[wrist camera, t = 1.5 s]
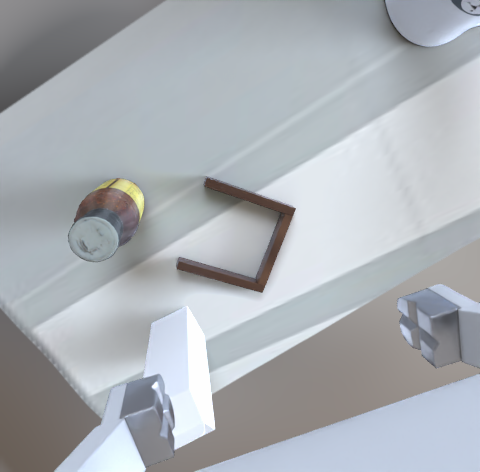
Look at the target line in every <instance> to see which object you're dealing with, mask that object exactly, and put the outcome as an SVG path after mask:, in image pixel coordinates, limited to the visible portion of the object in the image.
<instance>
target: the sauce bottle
mask: <svg viewBox="0 0 480 472" xmlns="http://www.w3.org/2000/svg"><path fill="white" fill-rule="evenodd" d="M143 209H144V197H143V194H142V192H141V191H140V189H139V188H138V186H137V185H136V184H135V183H132V182H130V181H128V180H125V179H120V178H117V179H112V180H109V181H106V182H104V183H103V184H102V185H100V186H99V187H98V188H96V189H95V190H94V191H92V192H91V193H90V194H89V195H87V197H86V198H85V199H84V200H83V201H82V202H81V204H80V205H79V208H78V210H77V213H76V217H75V219H74V222H75V223H74V224H73V225H72V227H71V229H70V231H69V234H68V242H69V244H70V248H71V250H72V251H73V252H74V253H75V254H76V255H77V256H79V257H80V258H81V259H84V260H86V261H91V262H100V261H104V260H106V259H108V258H109V257H111V256H112V255H113V254H114V253H115V252H116V250H117V248H118V247H119V246H122V245H124V244H125V243H127V242H128V241H129V240H130V239H131V238H132V237H133V236H134V234H135V233H136V231H137V228H138V226H139V222H140V219H141V216H142V213H143Z"/></svg>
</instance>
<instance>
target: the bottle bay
mask: <svg viewBox="0 0 480 472" xmlns="http://www.w3.org/2000/svg"><path fill="white" fill-rule="evenodd" d="M203 185H204V186H205V187H208V188H211V189H214V190H217V191H220V192H223V193H225V194H228V195H231V196H234V197H237V198H240V199H243V200H246V201H249V202H252V203H255V204H258V205H261V206H264V207H267V208H270V209H273V210H275V211H278V212H281V214H280V217H279V219H278V222H277V224H276V227H275V230H274V232H273V235H272V237H271V240H270V242H269V245H268V248H267V250H266V253H265V255H264V258H263V260H262V263H261V266H260V268H259V271H258V273H257V276H256V279H254V278H251V277H247V276H244V275H241V274H237V273H234V272H230V271H227V270H223V269H220V268H216V267H213V266H209V265H206V264H202V263H199V262H195V261H192V260H188V259H185V258H181V257H179V258H178V261H177V265H176V269H179V270H182V271H186V272H190V273H193V274H197V275H200V276H204V277H207V278H211V279H215V280H218V281H222V282H225V283H229V284H233V285H236V286H240V287H243V288H247V289H251V290H254V291H258V292H261V293H262V292H263V290H264V288H265V285H266V283H267V280H268V278H269V275H270V272H271V270H272V267H273V265H274V262H275V260H276V257H277V255H278V252H279V250H280V247H281V245H282V242H283V240H284V237H285V235H286V232H287V230H288V227H289V225H290V222H291V220H292V217H293V215H294V212H295V210H296V208H294V207H293V206H291V205H288V204H285V203H282V202H279V201H276V200H273V199H270V198H268V197H265V196H262V195H259V194H256V193H253V192H250V191H247V190H245V189H242V188H239V187H236V186H233V185H230V184H227V183H224V182H222V181H219V180H216V179H213V178H210V177H207V176H206V178H205V181H204V184H203Z"/></svg>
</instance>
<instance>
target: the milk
mask: <svg viewBox="0 0 480 472" xmlns="http://www.w3.org/2000/svg"><path fill="white" fill-rule="evenodd" d="M156 374H160V375H161V376H162V379H163V381H164V383H165V391H164V393H165V394H167V395H169V397H170V400H171V402H172V406H173V410H174V417H175V427H174V429H173V430H172V433H173V436H174V438H175V443H174V450H176V449H177V448H180V447H182V446H184V445H185V444H187V443H189V442H191V441H193V440H195V439H197V438H199V437H201V436H203V435H205V434H207V433H209V432H211V431H213V430H215V423H214V414H213V406H212V397H211V388H210V380H209V371H208V362H207V354H206V345H205V337H204V334H203V332H202V331H201V329H200V327H199V325H198V324H197V322H196V320H195V319H194V317H193V315H192V313H191V312H190V310H189V308H188V306H185V307H183V308H181V309H179V310H177V311H175V312H173V313H171V314H169V315H167V316H165V317H163V318H161V319H159V320H157V321H155V322H153V323H152V324H151V331H150V337H149V343H148V350H147V356H146V362H145V369H144V375H143V378H145V377H149V376H152V375H156Z"/></svg>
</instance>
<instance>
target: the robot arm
mask: <svg viewBox="0 0 480 472" xmlns="http://www.w3.org/2000/svg"><path fill="white" fill-rule="evenodd" d="M385 3H386V7H387V11H388V14H389V16H390V19H391V21H392V23H393V24H394V26H395V27H396V29H397V30H398V31H399V32H400V34H401V35H402V36H404V37H405V38H406V39H408V40H409V41H411V42H413V43H415V44H418V45H421V46H429V47H430V46H439V45H443V44H445V43H448V42H450V41H452V40H453V39H455V38H456V37H458V36H459V35H460V34H462V33H463V32H465V31H467V30H468V29H470V28H472V27H477V26H480V0H385ZM397 307H398V310H399V311H400V312H401V313H402V314H403V315H402V317H401V319H400V321H399V322H400V328H401V332H402V334H403V336H404V338H405V340H406V341H407V342H408V344H409V345H410V346H412V347H413V348H415V349H418V350H421V351H422V356H423V357H424V358H425V359H426V360H427V361H428V362H430V363H431V364H432V365H433V366H434V367H435V368H439V367H442V366H445V365H449V364H452V363H455V362H459V361H462V362H464V363H466V364H469V365H472V366H474V367H477V368H480V302H479V303H476V302H474V301H473V300H471V299H469V298H467V297H465V296H463V295H462V294H460V293H458V292H456V291H454V290H452V289H450V288H449V287H447V286H445V285H443V284H437V285H435V286H432V287H429V288H426V289H424V290H421V291H418V292H415V293H412V294H409V295H406V296H403V297H400V298H398V301H397ZM164 391H165V383H164V381H163V379H162V376H161V375H160V374H156V375H152V376H149V377H145V378H142V379H139V380H135V381H132V382H129V383H125V384H122V385H119V386H116V387H113V388H112V389H111V390H110V393H109V397H108V400H107V404H106V408H105V411H104V415H103V418H102V422H101V425H100V426H97V427H95V428H94V429H93V431H91V432H90V434H89V435H88V436H87V437H86V438H85V439H84V440H83V441H82V442H81V443H80V444H79V445H78V446H77V447H76V448H75V449H74V451H73V452H72V453H71V454H70V455H69V456H68V457H67V458H66V459H65V460H64V461H63V462H62V463H61V464H60V466H58V468H57V469H56V470H55V471H54V472H145V470H146V469H145V468H146V467H149V466H151V465H154V464H157V463H160V462H162V461H165V460H168V459H170V458H173V457H174V443H175V438H174V436H173V433H172V430H173V429H174V427H175V417H174V410H173V406H172V402H171V400H170V397H169V395H167V394H165V393H164ZM195 472H480V374H477V375H474V376H471V377H468V378H465V379H463V380H459V381H456V382H453V383H451V384H448V385H445V386H442V387H439V388H436V389H433V390H430V391H427V392H424V393H421V394H419V395H416V396H413V397H410V398H407V399H404V400H401V401H398V402H395V403H392V404H390V405H387V406H384V407H381V408H378V409H375V410H372V411H369V412H366V413H363V414H360V415H358V416H355V417H352V418H349V419H346V420H343V421H340V422H337V423H334V424H332V425H329V426H326V427H323V428H320V429H317V430H314V431H311V432H308V433H305V434H302V435H299V436H297V437H294V438H291V439H288V440H285V441H282V442H279V443H276V444H274V445H271V446H267V447H265V448H262V449H259V450H256V451H253V452H250V453H247V454H244V455H241V456H238V457H235V458H233V459H230V460H227V461H224V462H221V463H218V464H215V465H212V466H209V467H206V468H203V469H200V470H198V471H195Z"/></svg>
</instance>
